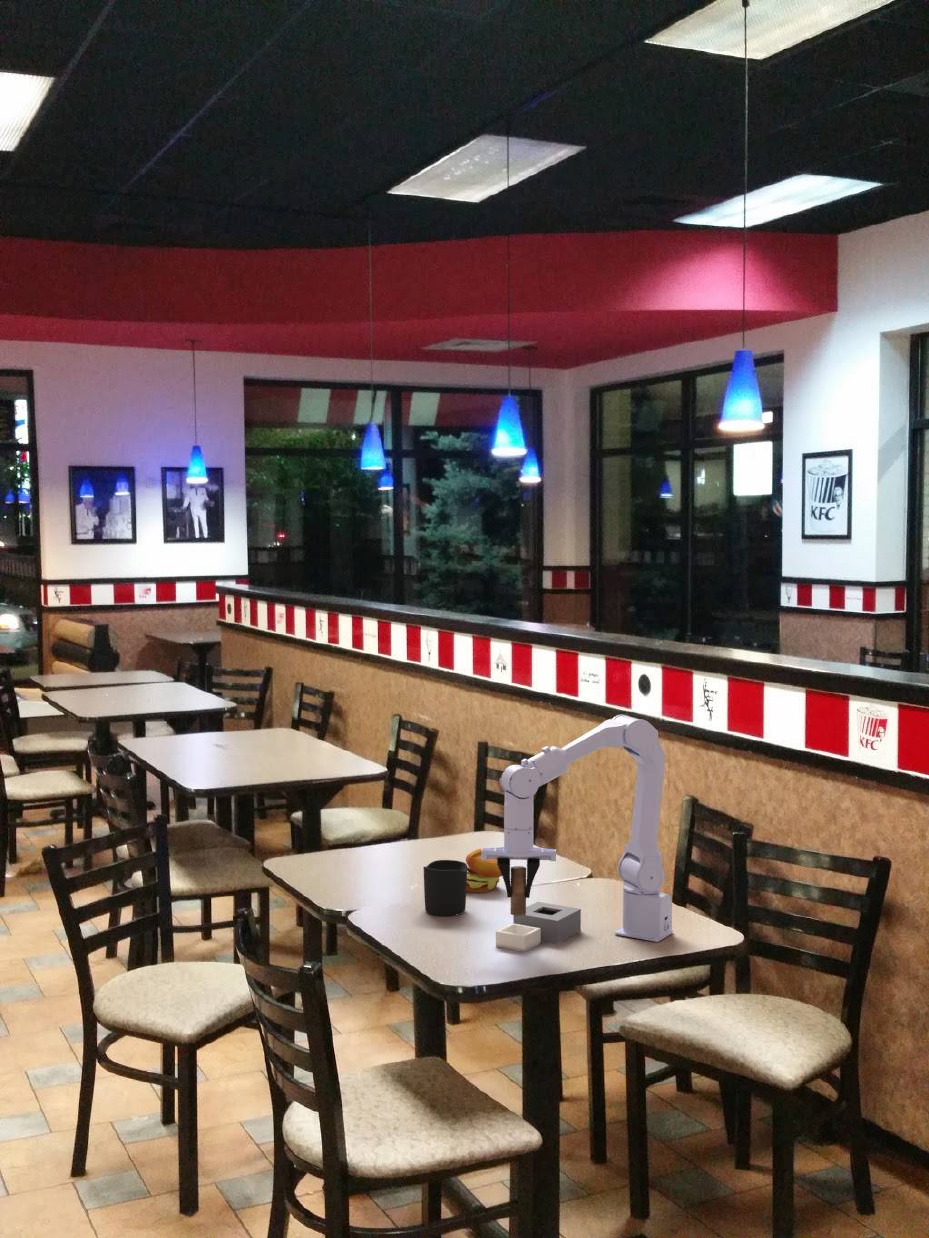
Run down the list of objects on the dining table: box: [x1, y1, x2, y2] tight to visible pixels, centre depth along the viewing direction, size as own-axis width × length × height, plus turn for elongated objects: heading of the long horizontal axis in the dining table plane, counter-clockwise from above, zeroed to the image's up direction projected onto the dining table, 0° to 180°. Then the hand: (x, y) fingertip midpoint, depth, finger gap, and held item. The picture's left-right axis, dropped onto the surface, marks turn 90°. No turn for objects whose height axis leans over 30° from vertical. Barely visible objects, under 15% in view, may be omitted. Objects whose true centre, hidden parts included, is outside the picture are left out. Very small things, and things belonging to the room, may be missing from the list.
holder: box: [495, 922, 542, 953], centre depth 239 cm, size 6×6×3 cm
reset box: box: [512, 901, 582, 944], centre depth 247 cm, size 10×10×4 cm
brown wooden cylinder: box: [510, 865, 527, 916], centre depth 239 cm, size 3×3×9 cm
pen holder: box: [423, 859, 468, 917], centre depth 263 cm, size 9×9×10 cm
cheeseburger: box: [465, 848, 502, 893], centre depth 281 cm, size 10×11×10 cm
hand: (518, 896), depth 239 cm, fingers closed on brown wooden cylinder, 3 cm apart
